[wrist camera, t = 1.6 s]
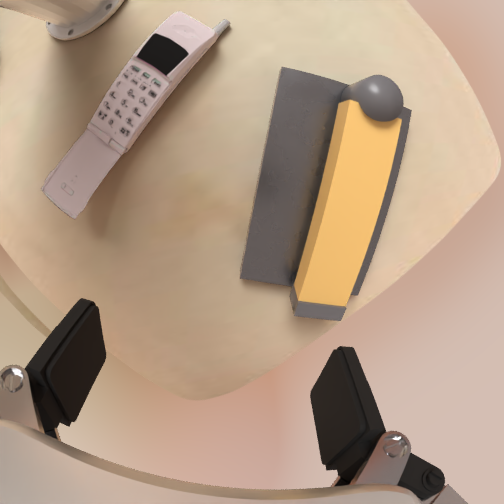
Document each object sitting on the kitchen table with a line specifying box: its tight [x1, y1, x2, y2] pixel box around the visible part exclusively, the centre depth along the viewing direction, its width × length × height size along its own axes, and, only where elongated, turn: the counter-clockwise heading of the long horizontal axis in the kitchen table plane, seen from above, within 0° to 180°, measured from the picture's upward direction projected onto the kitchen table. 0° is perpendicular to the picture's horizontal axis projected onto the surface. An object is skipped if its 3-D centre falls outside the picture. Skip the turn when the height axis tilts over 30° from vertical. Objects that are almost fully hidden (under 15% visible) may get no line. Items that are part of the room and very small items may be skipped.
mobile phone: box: [41, 11, 230, 219], centre depth 21 cm, size 6×6×25 cm
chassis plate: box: [240, 67, 412, 295], centre depth 27 cm, size 22×14×2 cm, turn 169°
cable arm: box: [290, 75, 403, 321], centre depth 23 cm, size 23×5×5 cm, turn 169°
